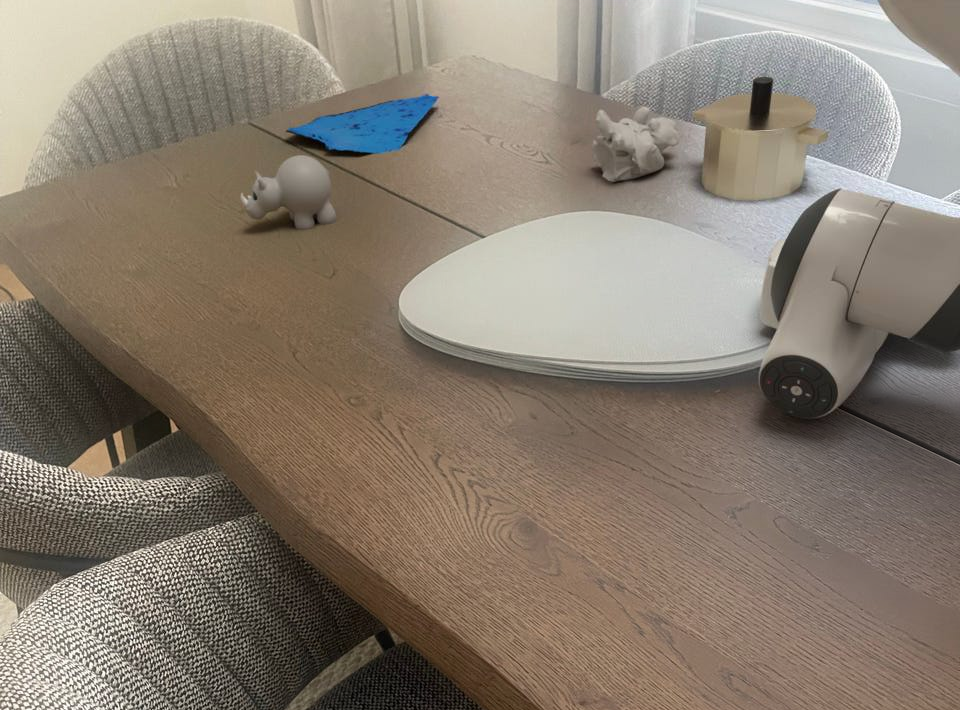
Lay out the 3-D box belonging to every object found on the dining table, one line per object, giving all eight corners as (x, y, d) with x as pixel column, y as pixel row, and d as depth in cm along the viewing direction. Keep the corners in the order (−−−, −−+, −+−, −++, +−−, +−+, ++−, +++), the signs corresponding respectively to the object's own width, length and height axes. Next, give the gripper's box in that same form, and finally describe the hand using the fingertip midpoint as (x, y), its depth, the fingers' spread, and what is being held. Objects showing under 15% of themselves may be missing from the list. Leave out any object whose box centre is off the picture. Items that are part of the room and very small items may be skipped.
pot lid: (742, 95, 128) (746, 56, 125) (836, 112, 121) (843, 72, 118) (681, 127, 122) (684, 87, 118) (776, 148, 115) (782, 106, 111)
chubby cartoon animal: (246, 226, 131) (229, 160, 125) (331, 208, 133) (319, 142, 127) (254, 247, 126) (236, 180, 120) (343, 227, 128) (330, 160, 122)
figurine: (589, 107, 124) (676, 72, 124) (584, 150, 134) (664, 117, 134) (614, 166, 124) (701, 130, 124) (606, 205, 134) (687, 172, 134)
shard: (302, 111, 163) (299, 98, 161) (442, 100, 161) (440, 87, 159) (275, 167, 146) (272, 153, 144) (431, 155, 144) (429, 141, 142)
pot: (720, 156, 135) (726, 89, 128) (838, 183, 125) (851, 111, 119) (666, 187, 129) (669, 118, 123) (785, 218, 119) (796, 145, 113)
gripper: (973, 295, 87) (1004, 232, 95) (752, 259, 95) (797, 204, 103) (954, 359, 91) (985, 293, 99) (744, 319, 100) (788, 262, 107)
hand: (888, 248), depth 101 cm, fingers open, 6 cm apart
